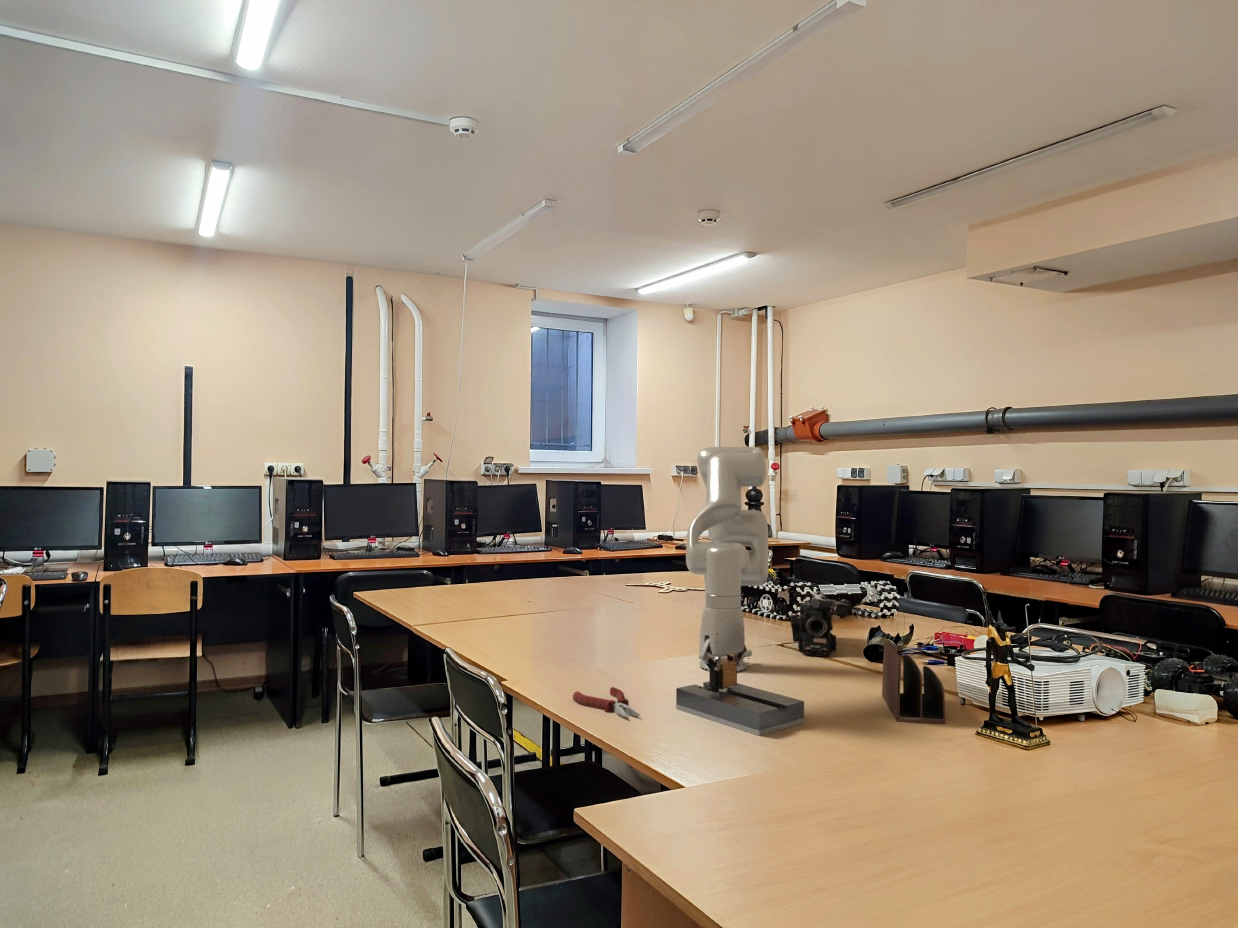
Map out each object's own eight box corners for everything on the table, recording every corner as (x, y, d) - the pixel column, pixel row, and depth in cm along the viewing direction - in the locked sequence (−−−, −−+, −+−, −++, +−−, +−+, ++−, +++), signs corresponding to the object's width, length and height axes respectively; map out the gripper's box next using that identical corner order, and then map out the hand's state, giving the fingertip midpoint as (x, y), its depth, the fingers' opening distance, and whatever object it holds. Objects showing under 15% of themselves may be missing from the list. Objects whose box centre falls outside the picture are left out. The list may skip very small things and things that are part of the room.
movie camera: (853, 659, 226) (850, 595, 228) (788, 657, 232) (786, 595, 233) (858, 642, 256) (855, 586, 257) (800, 641, 261) (798, 586, 263)
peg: (722, 701, 181) (722, 658, 181) (736, 705, 178) (736, 661, 178) (710, 704, 178) (710, 660, 178) (723, 708, 175) (723, 664, 175)
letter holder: (896, 722, 171) (896, 655, 171) (881, 697, 190) (881, 637, 191) (946, 724, 169) (946, 657, 169) (926, 699, 189) (926, 638, 189)
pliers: (609, 725, 168) (609, 712, 168) (570, 701, 186) (570, 690, 186) (657, 718, 174) (657, 706, 174) (615, 696, 191) (615, 685, 192)
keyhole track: (720, 698, 188) (720, 678, 188) (804, 722, 169) (804, 700, 170) (676, 708, 179) (676, 688, 179) (759, 735, 161) (759, 712, 161)
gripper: (736, 596, 186) (736, 676, 186) (683, 603, 176) (683, 688, 176) (761, 600, 181) (761, 683, 180) (708, 608, 170) (708, 695, 170)
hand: (723, 685), depth 178 cm, fingers closed on peg, 4 cm apart
